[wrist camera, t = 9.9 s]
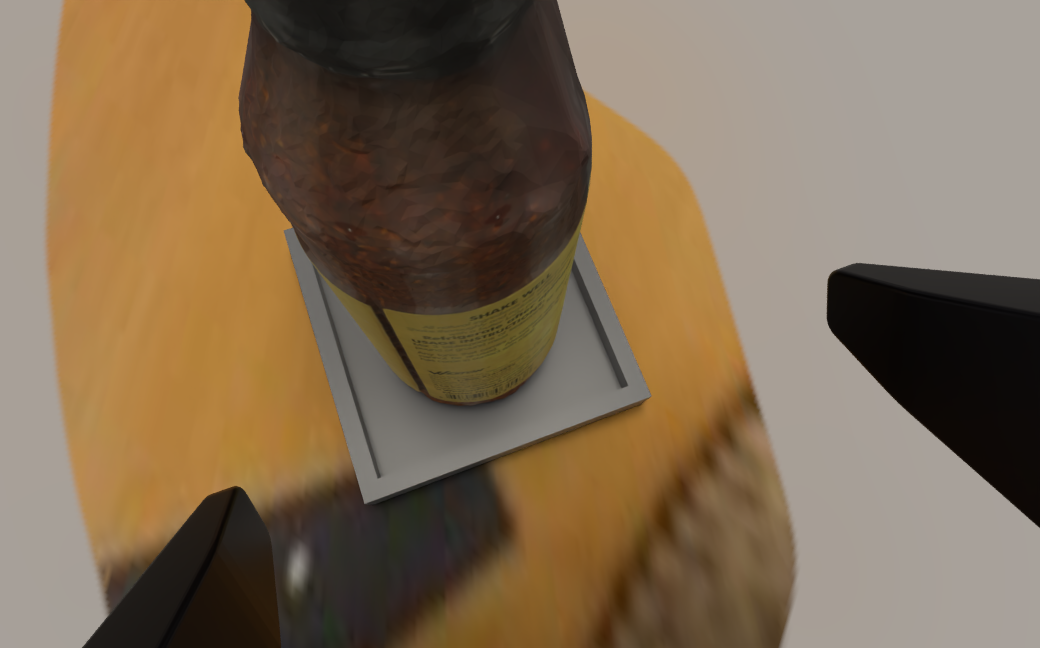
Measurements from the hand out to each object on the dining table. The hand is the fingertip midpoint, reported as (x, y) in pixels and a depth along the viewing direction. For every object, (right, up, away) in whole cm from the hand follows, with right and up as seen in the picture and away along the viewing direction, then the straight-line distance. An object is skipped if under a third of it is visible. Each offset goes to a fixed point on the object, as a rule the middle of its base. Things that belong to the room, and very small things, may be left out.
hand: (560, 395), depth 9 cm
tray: (-3, +1, +14) cm, 15 cm away
